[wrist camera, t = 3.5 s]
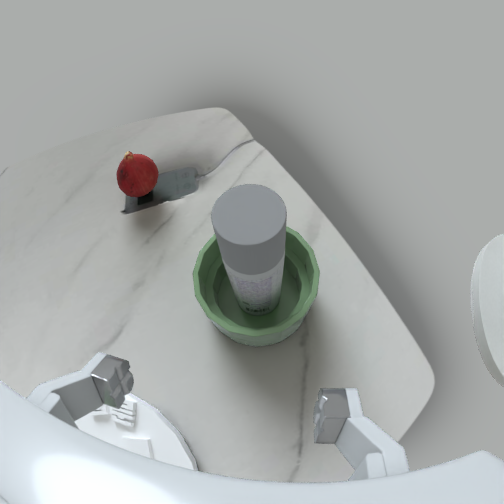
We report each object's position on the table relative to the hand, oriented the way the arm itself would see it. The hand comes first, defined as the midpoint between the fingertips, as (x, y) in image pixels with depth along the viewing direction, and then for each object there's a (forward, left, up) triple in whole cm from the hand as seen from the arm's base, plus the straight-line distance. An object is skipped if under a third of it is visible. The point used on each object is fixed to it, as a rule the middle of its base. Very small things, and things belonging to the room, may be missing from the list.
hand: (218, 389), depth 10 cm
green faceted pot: (+1, -10, -17) cm, 20 cm away
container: (+1, -10, -17) cm, 20 cm away
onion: (+20, -22, -17) cm, 34 cm away
